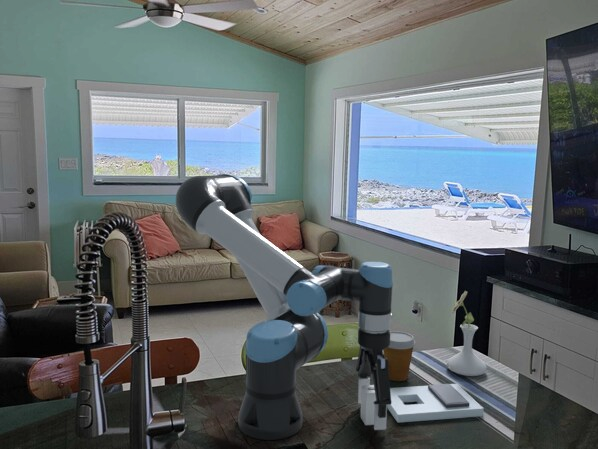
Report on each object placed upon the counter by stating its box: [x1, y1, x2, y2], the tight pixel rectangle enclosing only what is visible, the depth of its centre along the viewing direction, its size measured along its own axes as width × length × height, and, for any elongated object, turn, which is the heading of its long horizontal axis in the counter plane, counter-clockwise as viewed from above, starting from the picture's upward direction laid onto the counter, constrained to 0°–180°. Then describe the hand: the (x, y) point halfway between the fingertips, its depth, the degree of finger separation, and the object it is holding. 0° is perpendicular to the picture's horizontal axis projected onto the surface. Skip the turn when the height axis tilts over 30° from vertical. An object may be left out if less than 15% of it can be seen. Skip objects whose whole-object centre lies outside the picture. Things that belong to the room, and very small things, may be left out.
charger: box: [360, 384, 376, 426], centre depth 127 cm, size 4×4×8 cm
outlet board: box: [387, 383, 485, 423], centre depth 135 cm, size 22×14×2 cm, turn 100°
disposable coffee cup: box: [382, 330, 416, 382], centre depth 152 cm, size 10×10×12 cm
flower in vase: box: [446, 290, 488, 377], centre depth 155 cm, size 13×11×25 cm
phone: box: [427, 383, 469, 408], centre depth 136 cm, size 6×11×1 cm, turn 10°
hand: (371, 415), depth 127 cm, fingers open, 12 cm apart
